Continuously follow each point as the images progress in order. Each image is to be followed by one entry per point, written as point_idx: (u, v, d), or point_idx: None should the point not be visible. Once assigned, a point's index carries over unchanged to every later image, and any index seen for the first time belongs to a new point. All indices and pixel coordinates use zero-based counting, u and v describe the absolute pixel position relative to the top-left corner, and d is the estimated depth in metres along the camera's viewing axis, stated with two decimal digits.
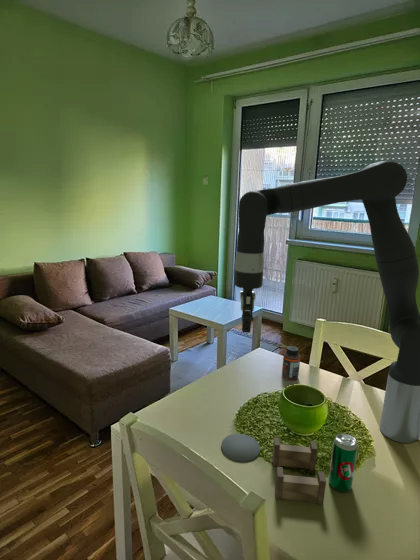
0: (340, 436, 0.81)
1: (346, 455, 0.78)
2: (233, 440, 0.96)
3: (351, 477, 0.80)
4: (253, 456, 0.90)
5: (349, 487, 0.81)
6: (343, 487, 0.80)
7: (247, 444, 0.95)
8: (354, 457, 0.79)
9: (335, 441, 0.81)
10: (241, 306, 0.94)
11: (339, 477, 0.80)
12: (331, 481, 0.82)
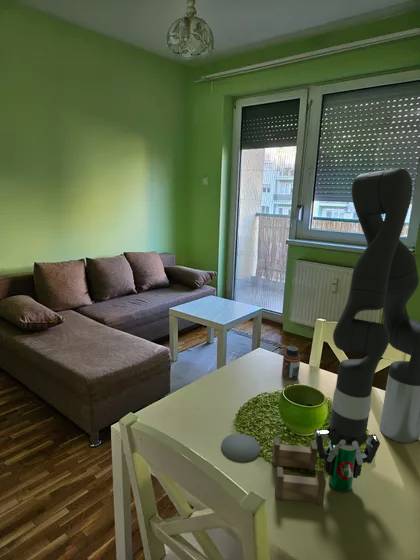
0: None
1: (345, 455, 0.78)
2: (233, 440, 0.96)
3: (351, 477, 0.80)
4: (253, 456, 0.90)
5: (349, 487, 0.81)
6: (343, 487, 0.80)
7: (247, 444, 0.95)
8: (354, 457, 0.79)
9: None
10: (360, 453, 0.79)
11: (339, 477, 0.80)
12: (331, 481, 0.82)
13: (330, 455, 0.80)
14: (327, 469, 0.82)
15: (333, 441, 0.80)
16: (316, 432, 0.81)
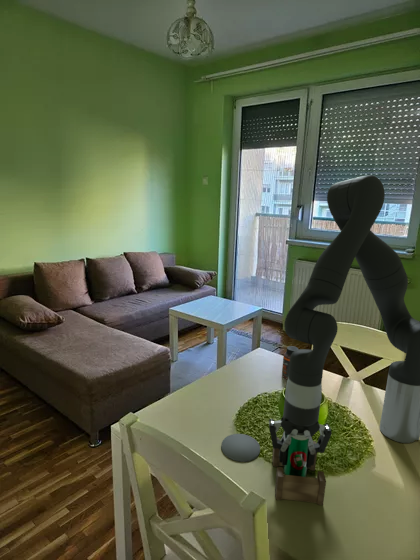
0: None
1: (298, 444, 0.79)
2: (233, 440, 0.96)
3: (304, 467, 0.81)
4: (253, 456, 0.90)
5: None
6: None
7: (247, 444, 0.95)
8: (306, 447, 0.79)
9: None
10: None
11: (292, 467, 0.80)
12: (285, 471, 0.82)
13: (283, 445, 0.81)
14: (281, 459, 0.82)
15: (286, 431, 0.80)
16: (270, 422, 0.81)
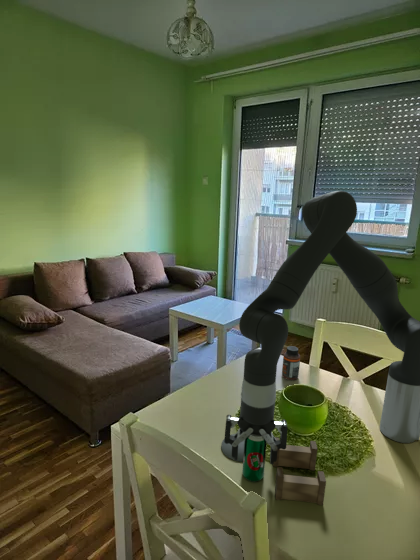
0: None
1: (254, 445, 0.80)
2: None
3: (261, 467, 0.82)
4: None
5: (259, 477, 0.83)
6: (253, 477, 0.82)
7: None
8: (262, 448, 0.81)
9: None
10: (271, 440, 0.81)
11: (249, 467, 0.82)
12: (243, 472, 0.84)
13: (234, 440, 0.82)
14: (233, 454, 0.83)
15: (242, 428, 0.81)
16: (227, 417, 0.82)
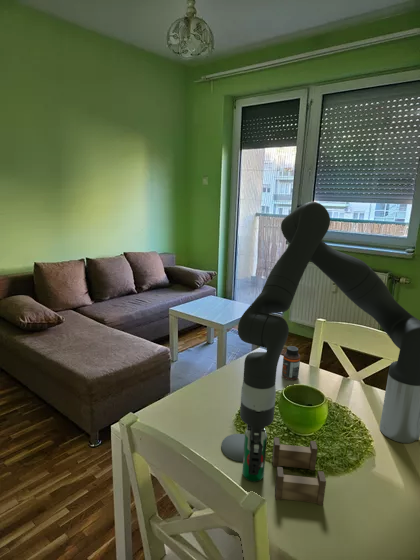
0: None
1: None
2: (233, 440, 0.96)
3: (261, 467, 0.82)
4: None
5: (259, 477, 0.83)
6: (253, 477, 0.82)
7: None
8: None
9: (246, 432, 0.82)
10: None
11: None
12: (243, 472, 0.84)
13: None
14: (256, 470, 0.81)
15: (260, 439, 0.79)
16: (256, 446, 0.76)
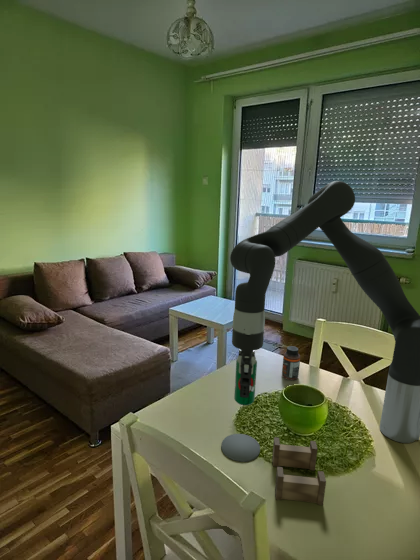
0: None
1: None
2: (233, 440, 0.96)
3: (251, 391, 0.88)
4: (253, 456, 0.90)
5: (250, 401, 0.88)
6: (244, 401, 0.88)
7: (247, 444, 0.95)
8: (253, 372, 0.87)
9: (237, 359, 0.88)
10: None
11: None
12: (235, 397, 0.90)
13: None
14: (247, 393, 0.87)
15: (250, 363, 0.85)
16: (246, 365, 0.81)
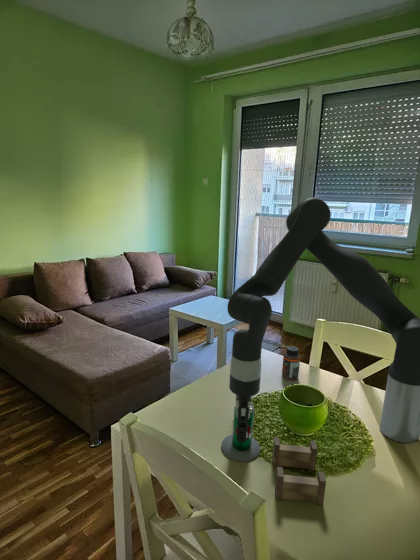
0: None
1: None
2: None
3: (248, 438, 0.91)
4: (253, 456, 0.90)
5: (247, 447, 0.91)
6: (241, 447, 0.91)
7: None
8: (250, 420, 0.90)
9: (235, 406, 0.91)
10: None
11: None
12: (233, 442, 0.93)
13: None
14: (244, 437, 0.88)
15: (247, 406, 0.88)
16: (243, 408, 0.84)
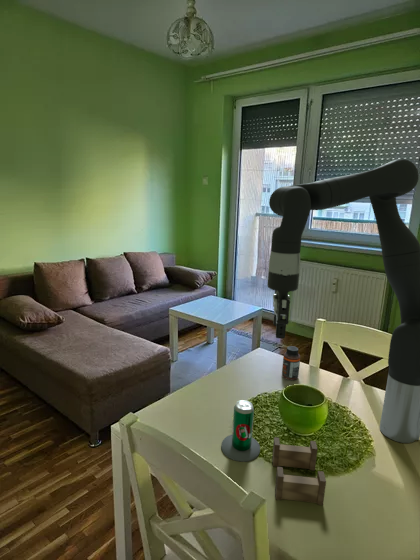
0: (240, 402, 0.92)
1: (242, 418, 0.89)
2: None
3: (248, 438, 0.91)
4: (253, 456, 0.90)
5: (247, 447, 0.91)
6: (241, 447, 0.91)
7: None
8: (250, 420, 0.90)
9: (235, 406, 0.91)
10: None
11: (237, 438, 0.91)
12: (232, 442, 0.93)
13: None
14: (283, 333, 0.88)
15: None
16: (284, 300, 0.84)
